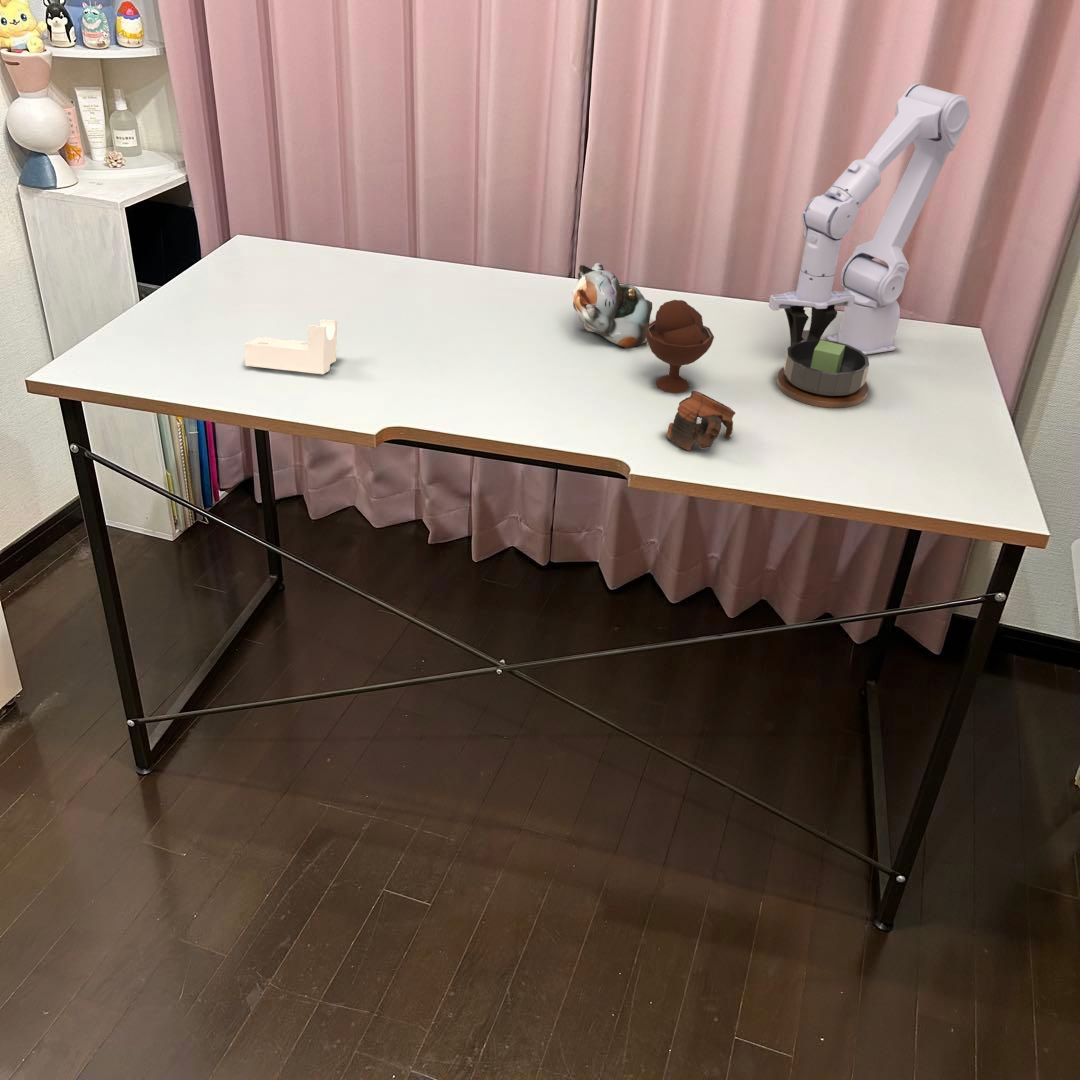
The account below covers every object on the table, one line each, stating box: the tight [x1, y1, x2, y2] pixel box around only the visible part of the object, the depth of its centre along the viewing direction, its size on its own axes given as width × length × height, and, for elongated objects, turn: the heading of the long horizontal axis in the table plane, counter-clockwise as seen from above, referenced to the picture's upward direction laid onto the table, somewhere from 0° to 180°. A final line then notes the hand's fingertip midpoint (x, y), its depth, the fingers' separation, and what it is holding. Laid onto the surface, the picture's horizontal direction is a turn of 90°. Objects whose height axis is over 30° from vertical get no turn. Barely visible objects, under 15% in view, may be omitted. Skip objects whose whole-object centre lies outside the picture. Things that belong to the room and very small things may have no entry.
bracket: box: [244, 318, 338, 375], centre depth 185 cm, size 13×7×8 cm, turn 82°
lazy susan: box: [776, 366, 869, 409], centre depth 190 cm, size 15×15×1 cm
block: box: [811, 339, 845, 373], centre depth 187 cm, size 4×4×5 cm
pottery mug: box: [666, 390, 736, 452], centre depth 171 cm, size 12×10×8 cm
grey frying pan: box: [783, 329, 870, 396], centre depth 189 cm, size 17×13×4 cm
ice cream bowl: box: [645, 299, 715, 394], centre depth 183 cm, size 11×11×15 cm
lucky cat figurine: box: [571, 262, 653, 349], centre depth 200 cm, size 15×12×14 cm
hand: (802, 346), depth 195 cm, fingers closed on grey frying pan, 3 cm apart
